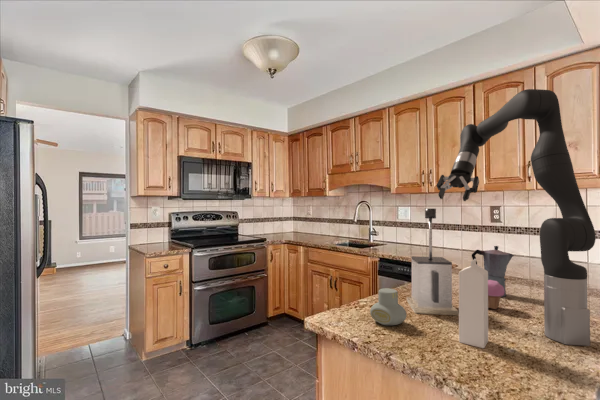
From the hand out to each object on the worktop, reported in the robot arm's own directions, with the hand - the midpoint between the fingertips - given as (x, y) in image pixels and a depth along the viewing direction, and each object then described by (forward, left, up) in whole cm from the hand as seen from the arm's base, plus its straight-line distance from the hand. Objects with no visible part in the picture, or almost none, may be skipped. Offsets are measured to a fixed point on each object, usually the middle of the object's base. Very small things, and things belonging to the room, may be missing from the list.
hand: (452, 198), depth 121 cm
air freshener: (-25, +27, -39) cm, 54 cm away
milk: (-36, +6, -39) cm, 53 cm away
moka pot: (+14, -20, -39) cm, 46 cm away
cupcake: (-5, -11, -39) cm, 41 cm away
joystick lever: (-8, +10, -28) cm, 31 cm away
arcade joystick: (-8, +10, -39) cm, 41 cm away
